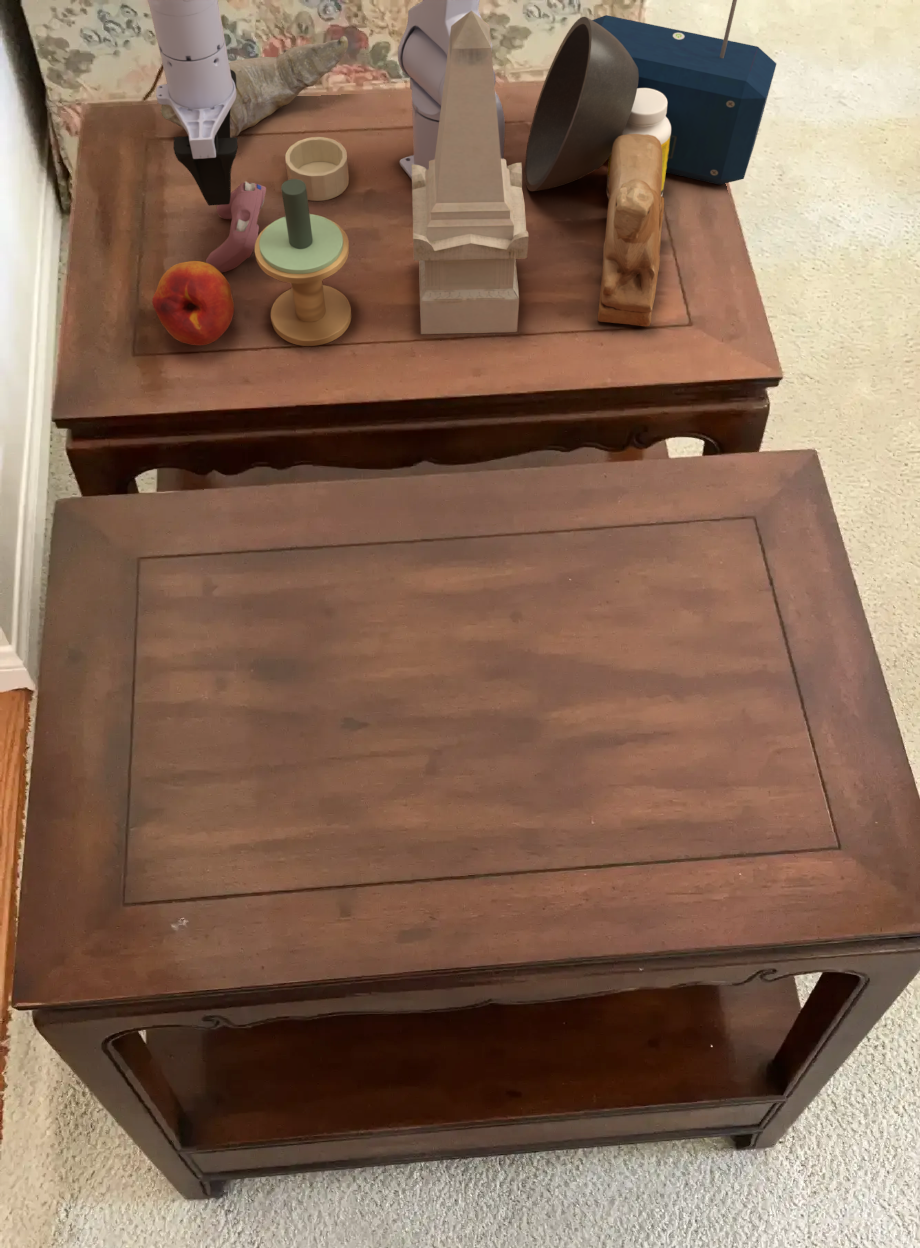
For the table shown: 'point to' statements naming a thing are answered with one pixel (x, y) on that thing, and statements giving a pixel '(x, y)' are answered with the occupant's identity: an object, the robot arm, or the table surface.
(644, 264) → the sculpture
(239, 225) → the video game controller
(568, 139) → the bowl
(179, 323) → the fruit
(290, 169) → the dish
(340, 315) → the stand
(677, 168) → the radio
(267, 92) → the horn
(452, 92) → the miniature monument
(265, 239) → the cover
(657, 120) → the pill bottle
